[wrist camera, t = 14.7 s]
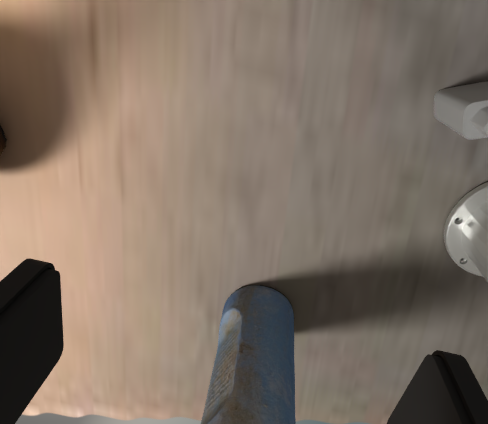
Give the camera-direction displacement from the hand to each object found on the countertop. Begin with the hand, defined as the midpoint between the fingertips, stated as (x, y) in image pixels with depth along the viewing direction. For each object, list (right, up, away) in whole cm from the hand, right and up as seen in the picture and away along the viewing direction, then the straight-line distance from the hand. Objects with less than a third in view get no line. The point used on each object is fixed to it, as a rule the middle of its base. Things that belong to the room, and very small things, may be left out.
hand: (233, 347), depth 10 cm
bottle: (+2, -10, +43) cm, 44 cm away
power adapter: (+22, +15, +28) cm, 38 cm away
